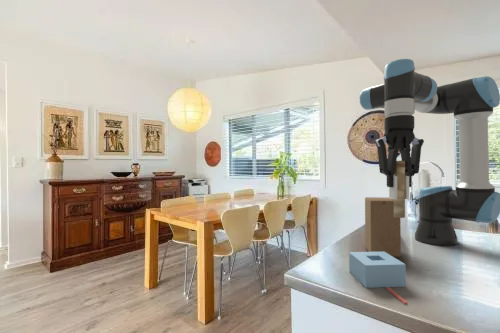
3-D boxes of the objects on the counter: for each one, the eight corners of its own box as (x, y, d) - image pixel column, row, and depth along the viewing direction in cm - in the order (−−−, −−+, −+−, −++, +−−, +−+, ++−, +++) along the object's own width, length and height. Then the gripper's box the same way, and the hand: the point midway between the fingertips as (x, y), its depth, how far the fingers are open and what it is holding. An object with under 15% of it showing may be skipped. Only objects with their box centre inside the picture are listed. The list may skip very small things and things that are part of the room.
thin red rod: (389, 288, 73) (389, 287, 73) (407, 304, 65) (407, 302, 65) (386, 288, 73) (386, 287, 73) (404, 304, 65) (404, 302, 65)
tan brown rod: (401, 215, 80) (401, 160, 80) (407, 217, 77) (407, 160, 77) (391, 216, 79) (391, 160, 79) (397, 217, 77) (397, 160, 77)
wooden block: (401, 257, 97) (400, 200, 97) (371, 255, 99) (370, 200, 99) (392, 248, 107) (392, 197, 107) (365, 247, 109) (364, 197, 109)
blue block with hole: (384, 270, 85) (384, 251, 85) (405, 286, 74) (405, 264, 74) (349, 271, 85) (349, 252, 85) (365, 287, 74) (365, 265, 74)
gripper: (416, 118, 82) (417, 197, 82) (365, 118, 81) (365, 197, 81) (435, 114, 75) (435, 200, 75) (378, 113, 74) (379, 200, 74)
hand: (399, 198), depth 78 cm, fingers closed on tan brown rod, 3 cm apart
